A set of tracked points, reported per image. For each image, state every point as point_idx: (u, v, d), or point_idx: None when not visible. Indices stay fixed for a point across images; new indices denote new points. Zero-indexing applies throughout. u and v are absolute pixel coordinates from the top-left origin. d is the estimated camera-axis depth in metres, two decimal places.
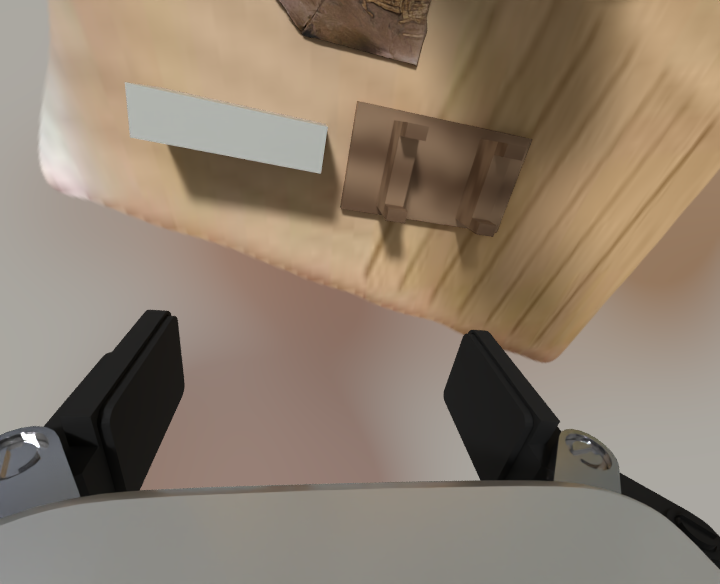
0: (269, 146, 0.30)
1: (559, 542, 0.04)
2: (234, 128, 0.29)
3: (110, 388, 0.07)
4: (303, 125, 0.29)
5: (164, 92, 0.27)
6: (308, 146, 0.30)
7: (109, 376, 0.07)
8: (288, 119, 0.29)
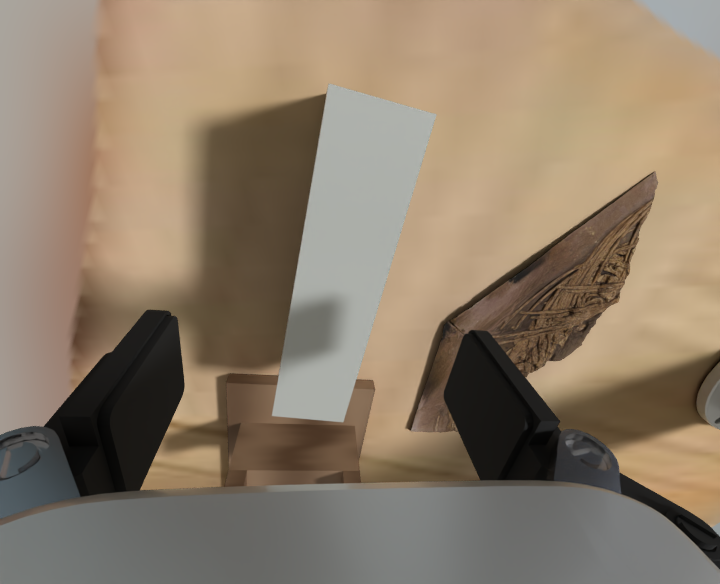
0: (313, 349, 0.17)
1: (559, 542, 0.04)
2: (343, 300, 0.16)
3: (111, 388, 0.07)
4: (345, 394, 0.18)
5: (410, 191, 0.14)
6: (315, 400, 0.18)
7: (109, 376, 0.07)
8: (355, 376, 0.18)
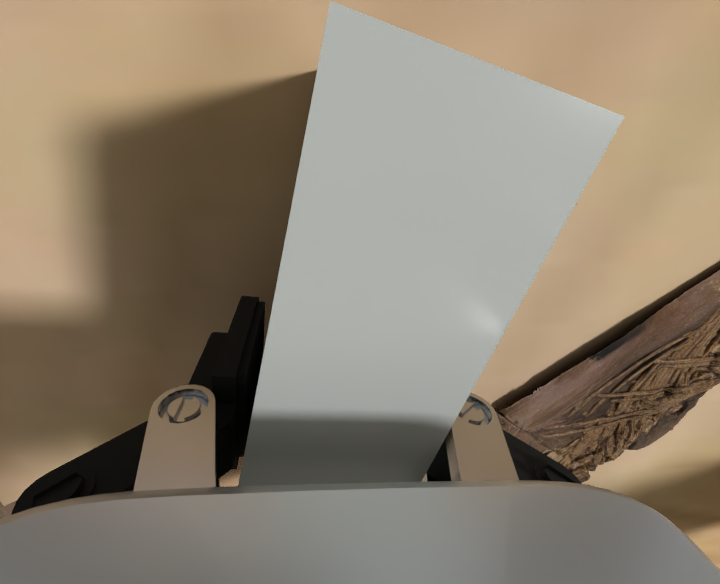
0: None
1: (559, 542, 0.04)
2: None
3: (240, 356, 0.08)
4: None
5: (517, 297, 0.06)
6: None
7: (235, 347, 0.09)
8: None
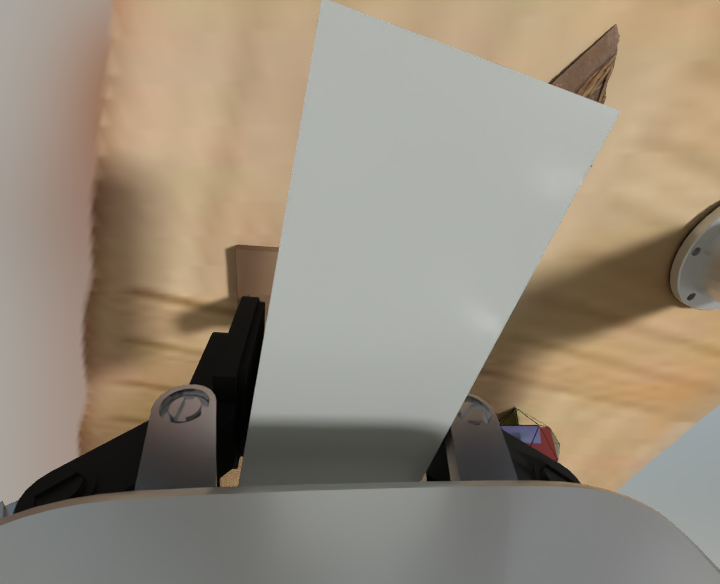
0: None
1: (559, 542, 0.04)
2: None
3: (242, 356, 0.08)
4: None
5: (515, 294, 0.06)
6: None
7: (236, 347, 0.09)
8: None
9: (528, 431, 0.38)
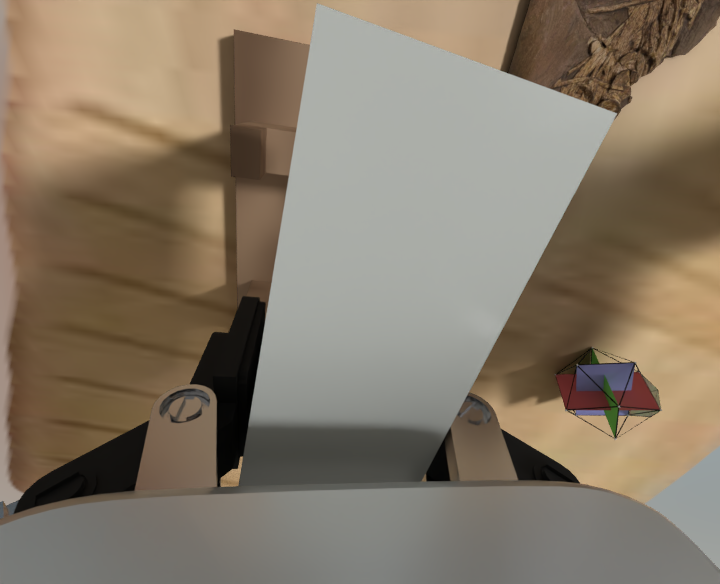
0: None
1: (559, 542, 0.04)
2: None
3: (241, 356, 0.08)
4: None
5: (513, 297, 0.06)
6: None
7: (236, 347, 0.09)
8: None
9: (617, 373, 0.29)
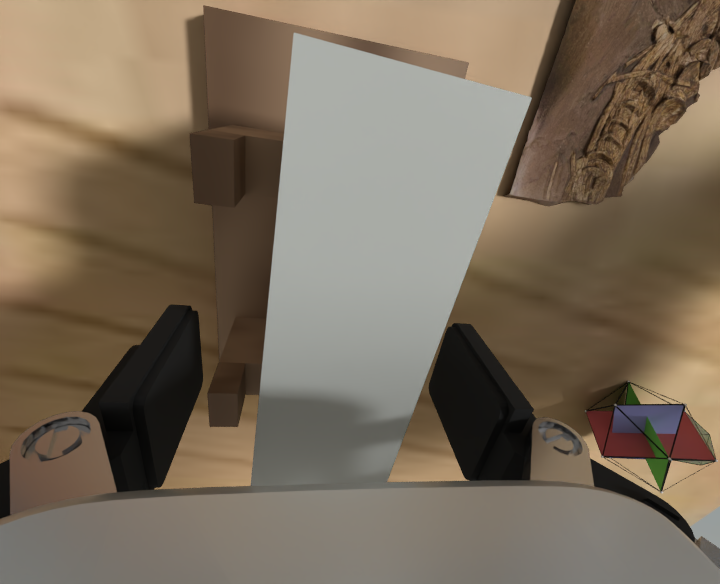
0: None
1: (559, 542, 0.04)
2: (346, 430, 0.09)
3: (144, 377, 0.07)
4: None
5: (468, 251, 0.07)
6: None
7: (141, 366, 0.07)
8: None
9: (662, 415, 0.25)
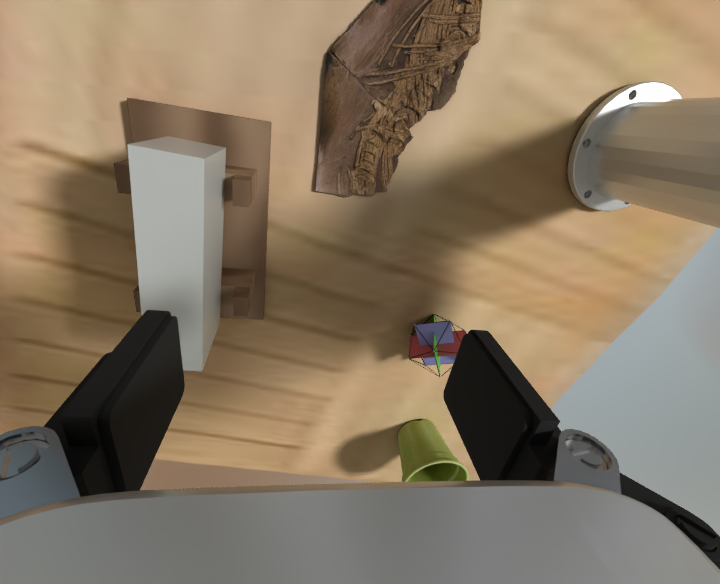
0: None
1: (559, 542, 0.04)
2: (176, 281, 0.23)
3: (110, 388, 0.07)
4: (198, 349, 0.26)
5: (201, 206, 0.21)
6: None
7: (109, 376, 0.07)
8: (201, 335, 0.25)
9: (441, 329, 0.40)
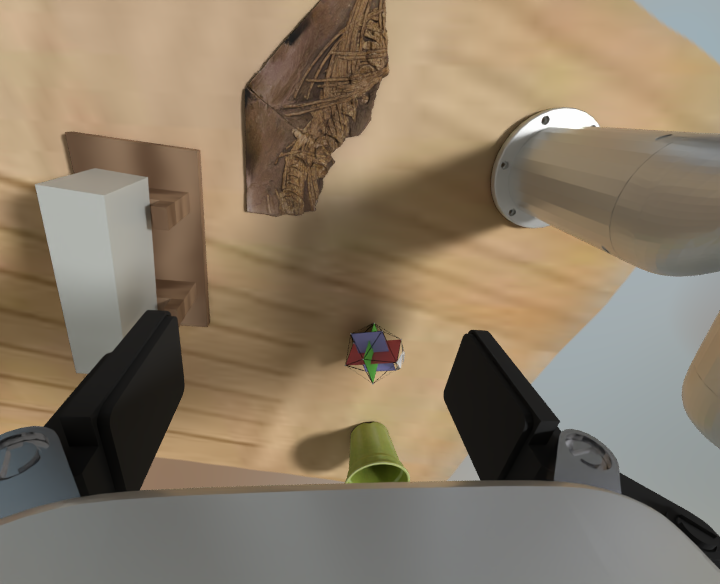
0: (86, 328, 0.27)
1: (559, 542, 0.04)
2: (93, 298, 0.26)
3: (110, 388, 0.07)
4: None
5: (107, 234, 0.24)
6: None
7: (109, 376, 0.07)
8: None
9: (375, 338, 0.42)
